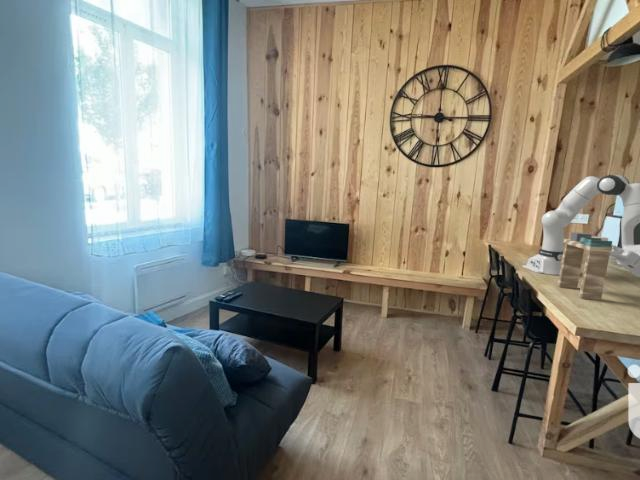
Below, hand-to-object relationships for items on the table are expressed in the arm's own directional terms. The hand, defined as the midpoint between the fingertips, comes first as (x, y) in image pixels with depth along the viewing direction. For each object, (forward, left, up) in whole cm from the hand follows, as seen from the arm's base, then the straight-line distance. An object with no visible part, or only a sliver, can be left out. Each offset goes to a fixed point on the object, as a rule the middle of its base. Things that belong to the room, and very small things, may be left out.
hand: (605, 244), depth 183 cm
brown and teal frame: (+1, -15, -25) cm, 29 cm away
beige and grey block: (-3, -8, +1) cm, 8 cm away
